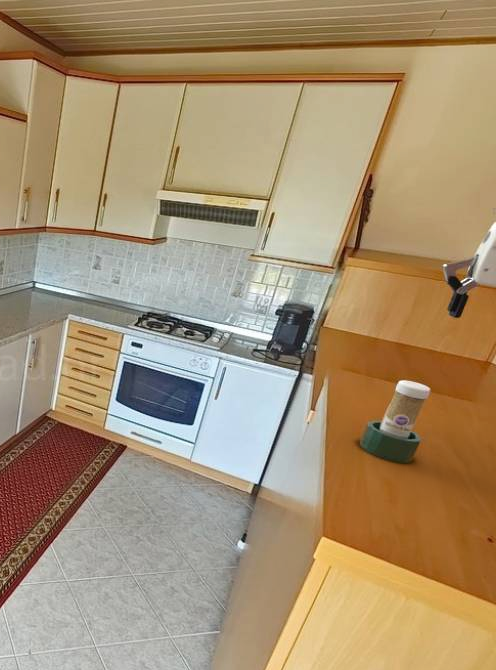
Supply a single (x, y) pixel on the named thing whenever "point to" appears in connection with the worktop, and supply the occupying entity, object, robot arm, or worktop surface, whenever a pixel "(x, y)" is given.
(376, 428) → the holder
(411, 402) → the sprinkles bottle
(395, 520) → the worktop surface
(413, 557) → the worktop surface
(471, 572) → the worktop surface
